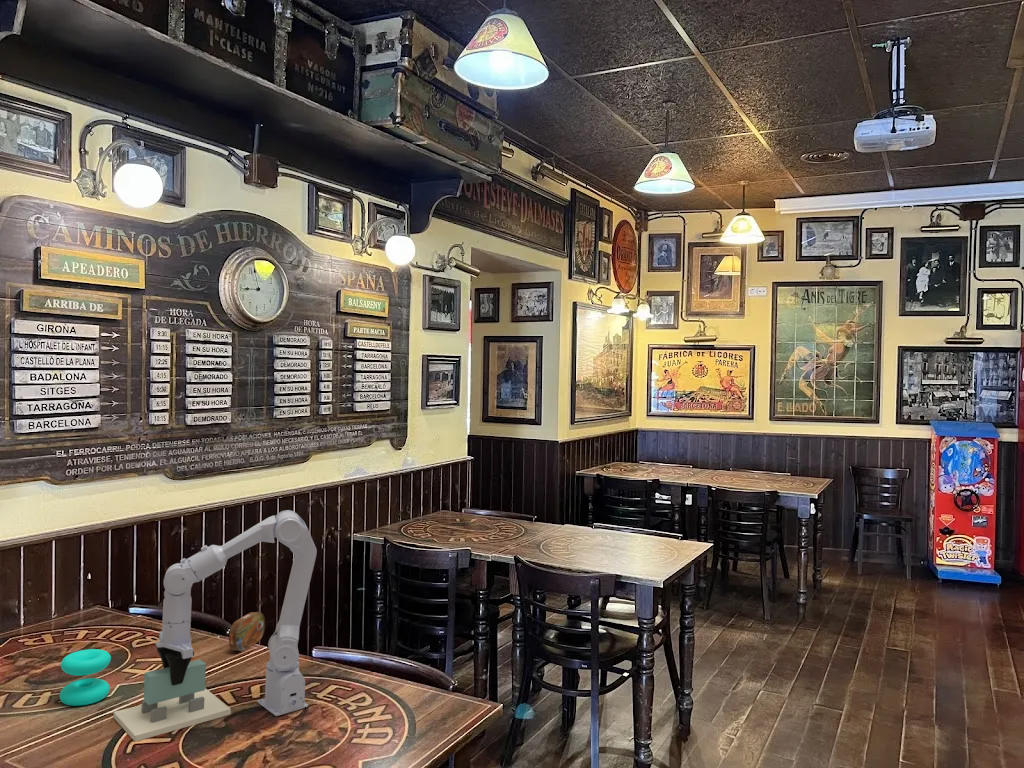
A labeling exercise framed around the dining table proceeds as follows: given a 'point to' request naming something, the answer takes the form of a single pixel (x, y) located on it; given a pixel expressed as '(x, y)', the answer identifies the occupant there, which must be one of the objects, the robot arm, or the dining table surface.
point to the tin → (246, 631)
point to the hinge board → (170, 714)
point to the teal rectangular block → (162, 688)
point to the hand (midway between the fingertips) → (174, 681)
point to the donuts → (89, 687)
